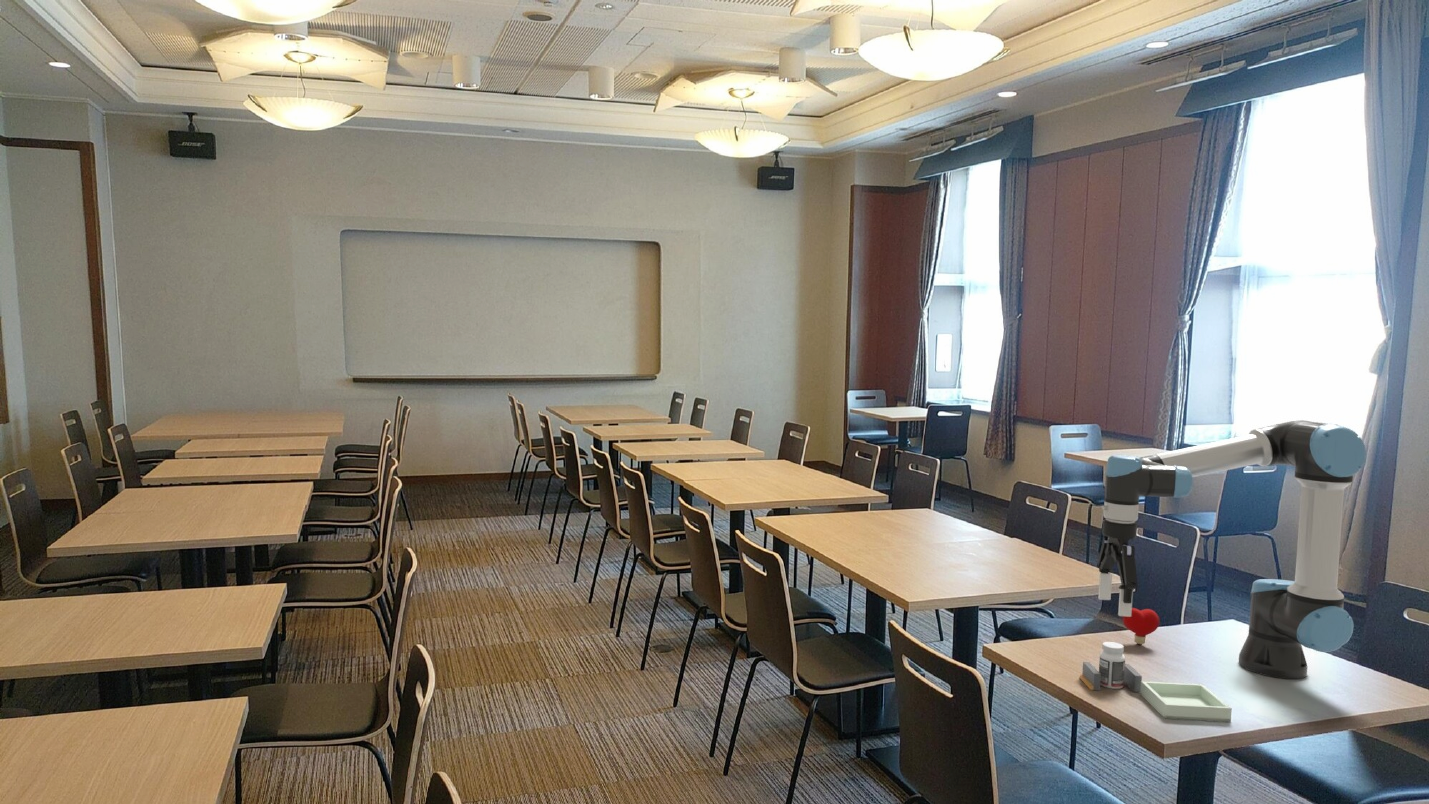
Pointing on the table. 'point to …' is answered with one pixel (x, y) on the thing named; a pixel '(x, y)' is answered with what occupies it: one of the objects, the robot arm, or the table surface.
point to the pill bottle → (1112, 665)
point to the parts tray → (1185, 701)
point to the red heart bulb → (1141, 623)
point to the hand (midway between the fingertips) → (1114, 607)
